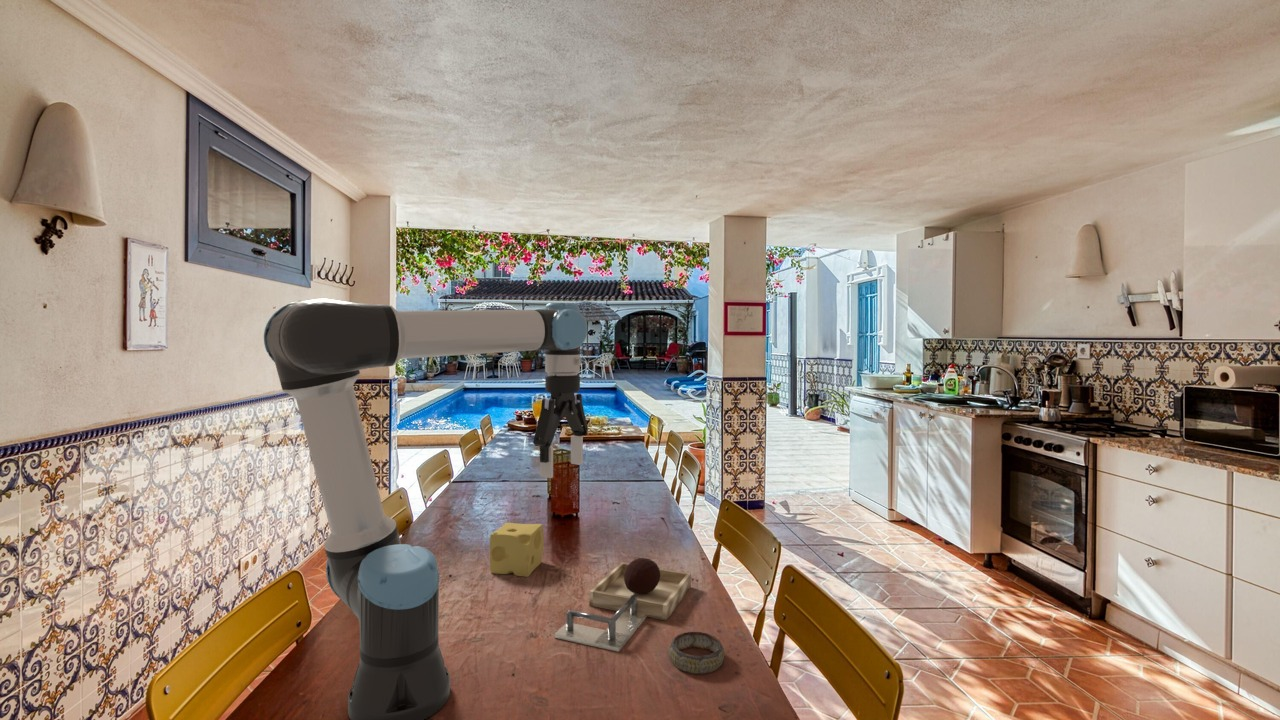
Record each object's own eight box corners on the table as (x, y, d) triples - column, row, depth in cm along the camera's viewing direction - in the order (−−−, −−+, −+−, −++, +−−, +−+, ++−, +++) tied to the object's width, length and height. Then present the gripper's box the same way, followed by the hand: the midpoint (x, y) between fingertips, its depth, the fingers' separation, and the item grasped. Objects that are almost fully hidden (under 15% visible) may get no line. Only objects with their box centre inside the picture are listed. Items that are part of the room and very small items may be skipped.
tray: (666, 620, 122) (666, 605, 122) (589, 605, 128) (589, 591, 128) (690, 586, 138) (691, 573, 138) (621, 575, 145) (621, 562, 145)
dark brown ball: (668, 591, 134) (668, 557, 134) (642, 605, 127) (642, 569, 127) (641, 581, 139) (641, 548, 139) (614, 594, 132) (614, 560, 132)
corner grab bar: (618, 651, 110) (618, 627, 110) (554, 637, 115) (554, 613, 114) (649, 614, 125) (649, 592, 124) (591, 602, 130) (591, 581, 129)
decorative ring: (736, 664, 106) (698, 640, 115) (736, 646, 106) (699, 624, 114) (693, 683, 100) (657, 657, 109) (693, 664, 100) (657, 640, 108)
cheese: (528, 578, 143) (528, 537, 142) (487, 574, 145) (487, 533, 144) (544, 561, 153) (544, 523, 152) (505, 558, 155) (505, 520, 155)
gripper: (548, 378, 116) (548, 485, 117) (602, 371, 140) (601, 460, 141) (516, 377, 119) (516, 481, 120) (574, 370, 142) (573, 457, 143)
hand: (562, 470), depth 130 cm, fingers open, 13 cm apart
